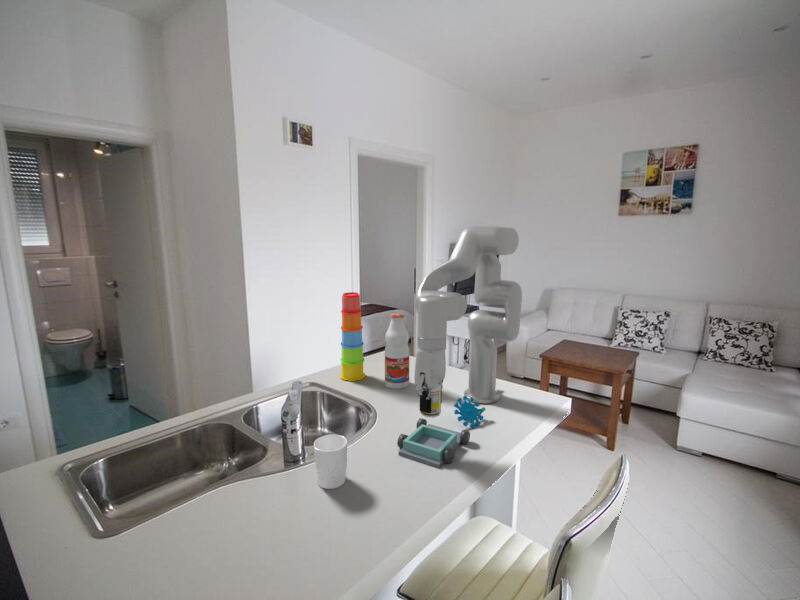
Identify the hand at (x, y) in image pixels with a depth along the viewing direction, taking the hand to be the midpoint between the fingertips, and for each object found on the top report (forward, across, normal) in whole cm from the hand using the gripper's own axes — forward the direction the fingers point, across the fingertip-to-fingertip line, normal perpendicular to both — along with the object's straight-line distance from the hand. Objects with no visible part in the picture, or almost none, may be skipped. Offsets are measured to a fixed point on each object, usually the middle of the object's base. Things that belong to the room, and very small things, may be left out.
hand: (430, 406), depth 111 cm
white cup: (+13, +25, -14) cm, 31 cm away
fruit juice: (+13, -35, -32) cm, 49 cm away
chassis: (+12, -2, 0) cm, 13 cm away
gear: (+13, -21, +4) cm, 24 cm away
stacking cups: (+13, -33, -52) cm, 63 cm away
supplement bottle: (+2, 0, 0) cm, 2 cm away
